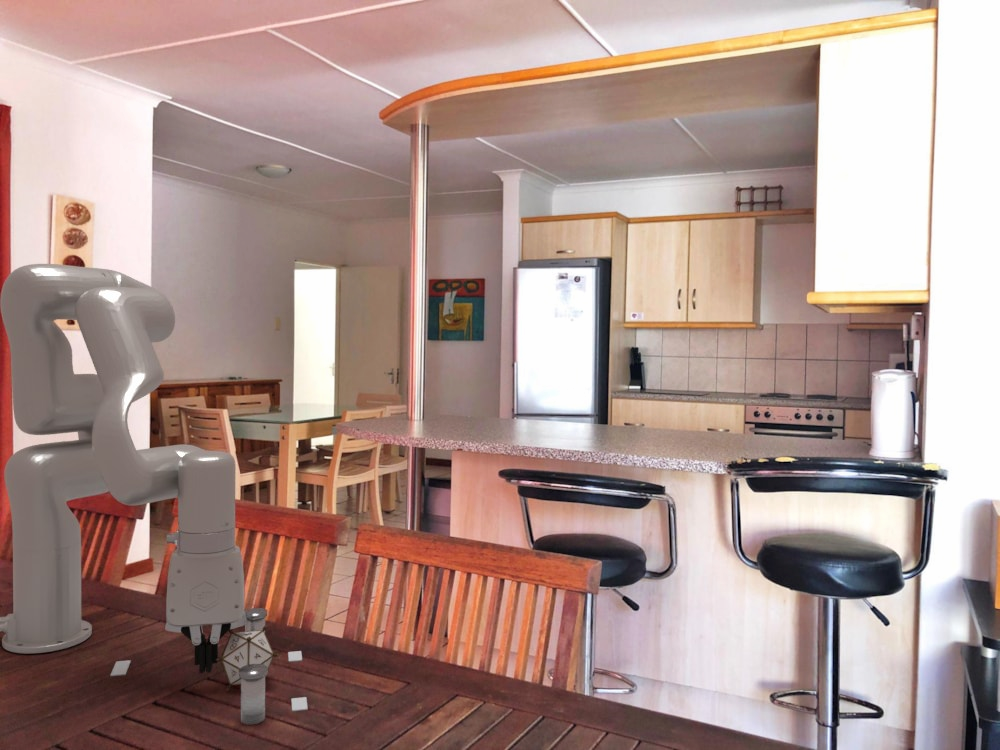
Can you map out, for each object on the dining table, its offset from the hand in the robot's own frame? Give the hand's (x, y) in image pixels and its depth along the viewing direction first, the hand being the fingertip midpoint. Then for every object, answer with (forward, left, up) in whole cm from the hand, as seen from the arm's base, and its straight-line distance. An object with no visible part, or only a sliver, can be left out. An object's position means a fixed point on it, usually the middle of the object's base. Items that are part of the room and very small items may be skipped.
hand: (206, 668), depth 114 cm
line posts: (+6, 0, -3) cm, 7 cm away
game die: (+5, 0, -3) cm, 6 cm away
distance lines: (0, +1, -3) cm, 3 cm away
